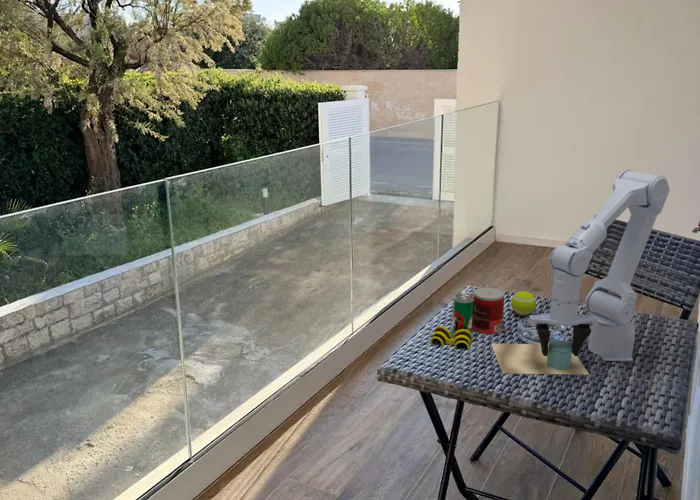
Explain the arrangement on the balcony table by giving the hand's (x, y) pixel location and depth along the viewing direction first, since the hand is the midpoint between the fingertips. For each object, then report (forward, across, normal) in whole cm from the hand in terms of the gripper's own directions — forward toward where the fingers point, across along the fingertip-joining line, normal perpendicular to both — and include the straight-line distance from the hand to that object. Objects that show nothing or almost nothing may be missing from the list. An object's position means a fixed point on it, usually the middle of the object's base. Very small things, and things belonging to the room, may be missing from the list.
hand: (559, 354), depth 139 cm
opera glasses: (+4, +23, -11) cm, 26 cm away
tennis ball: (+4, 0, -32) cm, 32 cm away
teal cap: (+3, 0, 0) cm, 3 cm away
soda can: (+4, +20, -16) cm, 25 cm away
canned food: (+4, +12, -20) cm, 24 cm away
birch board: (+4, +4, -3) cm, 6 cm away
